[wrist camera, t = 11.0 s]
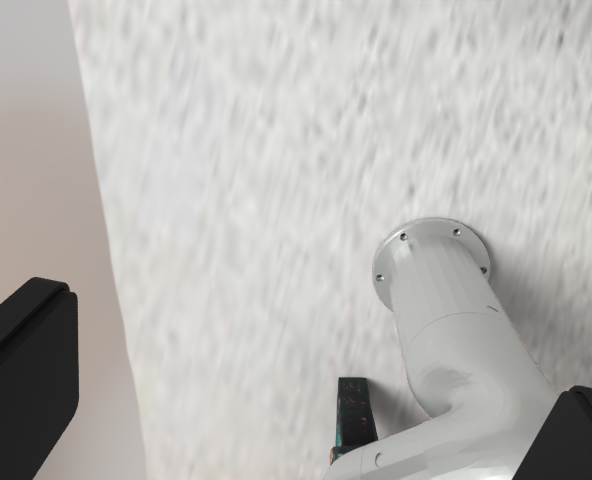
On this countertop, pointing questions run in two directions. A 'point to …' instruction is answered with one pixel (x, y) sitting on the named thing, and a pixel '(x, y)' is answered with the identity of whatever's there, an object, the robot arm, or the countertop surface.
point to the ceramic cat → (353, 417)
